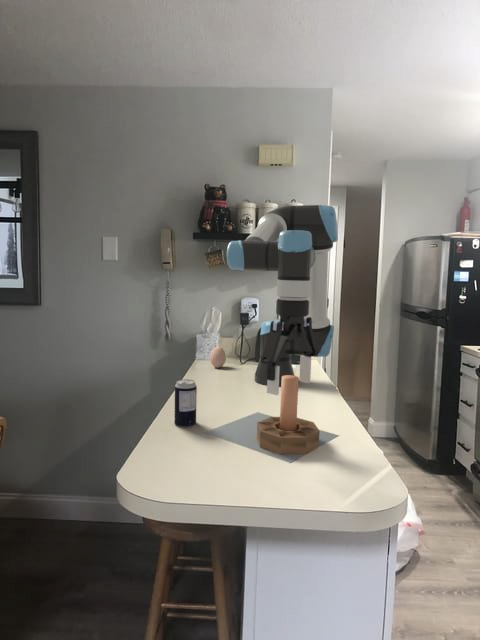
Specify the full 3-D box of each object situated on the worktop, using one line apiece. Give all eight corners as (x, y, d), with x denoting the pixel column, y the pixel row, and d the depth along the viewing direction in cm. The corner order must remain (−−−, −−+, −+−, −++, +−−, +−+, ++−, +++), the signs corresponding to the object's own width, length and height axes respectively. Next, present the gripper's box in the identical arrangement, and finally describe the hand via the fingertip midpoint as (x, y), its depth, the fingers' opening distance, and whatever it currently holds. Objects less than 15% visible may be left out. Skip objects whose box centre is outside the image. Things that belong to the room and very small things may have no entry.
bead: (279, 427, 117) (280, 412, 117) (327, 442, 108) (328, 426, 108) (246, 442, 106) (246, 426, 106) (295, 460, 97) (296, 442, 97)
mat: (257, 414, 129) (257, 412, 129) (338, 437, 113) (339, 435, 113) (204, 434, 113) (204, 432, 112) (290, 465, 96) (290, 463, 96)
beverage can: (199, 423, 120) (200, 380, 119) (190, 430, 115) (191, 385, 113) (180, 421, 122) (180, 378, 121) (170, 427, 117) (171, 382, 115)
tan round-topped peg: (285, 437, 110) (287, 374, 108) (298, 442, 108) (301, 377, 106) (275, 442, 107) (278, 377, 105) (289, 447, 105) (292, 380, 103)
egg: (227, 366, 190) (227, 345, 189) (223, 369, 184) (223, 348, 183) (212, 365, 192) (212, 344, 191) (207, 368, 185) (208, 347, 184)
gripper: (307, 295, 115) (303, 375, 118) (246, 300, 96) (243, 395, 99) (333, 297, 110) (329, 380, 113) (274, 302, 91) (271, 403, 94)
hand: (289, 387), depth 106 cm, fingers open, 13 cm apart
